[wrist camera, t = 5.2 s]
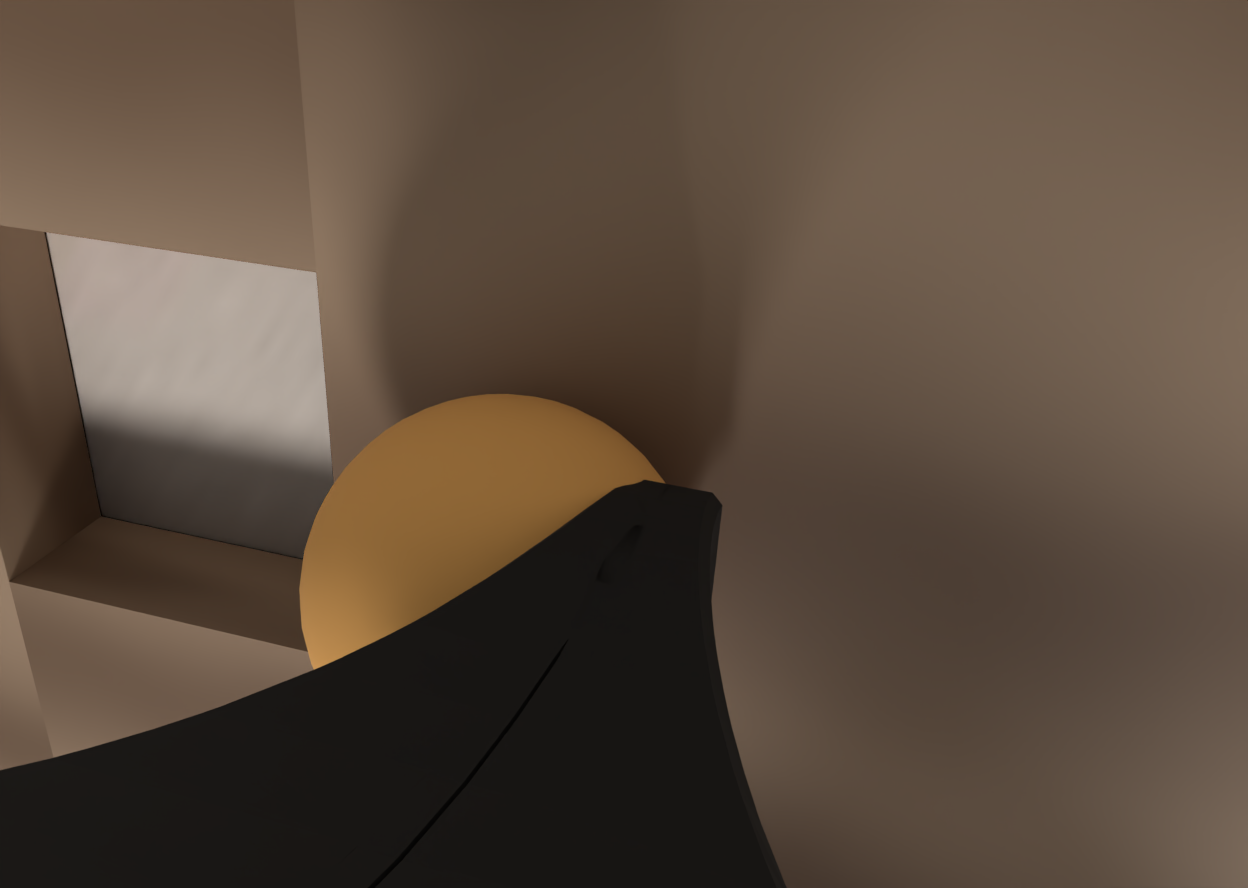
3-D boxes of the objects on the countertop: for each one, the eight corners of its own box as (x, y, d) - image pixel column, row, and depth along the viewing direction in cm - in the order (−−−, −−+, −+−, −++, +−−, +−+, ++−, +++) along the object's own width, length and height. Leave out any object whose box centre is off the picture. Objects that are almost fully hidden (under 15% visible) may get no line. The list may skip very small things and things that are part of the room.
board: (1573, 1081, 15) (1653, 1236, 13) (-6, 675, 20) (-95, 745, 19) (2394, -24, 8) (2767, -8, 7) (-239, -174, 14) (-407, -185, 12)
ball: (289, 893, 10) (300, 590, 13) (690, 859, 11) (613, 588, 14) (297, 585, 8) (309, 307, 11) (799, 583, 9) (681, 331, 12)
